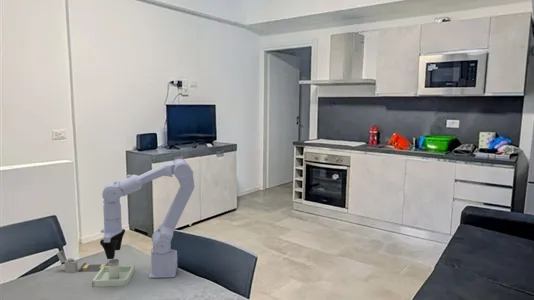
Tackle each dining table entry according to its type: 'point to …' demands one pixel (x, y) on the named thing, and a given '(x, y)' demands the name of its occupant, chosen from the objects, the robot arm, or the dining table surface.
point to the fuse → (113, 269)
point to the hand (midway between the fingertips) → (113, 254)
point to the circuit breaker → (68, 263)
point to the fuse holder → (91, 267)
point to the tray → (104, 281)
